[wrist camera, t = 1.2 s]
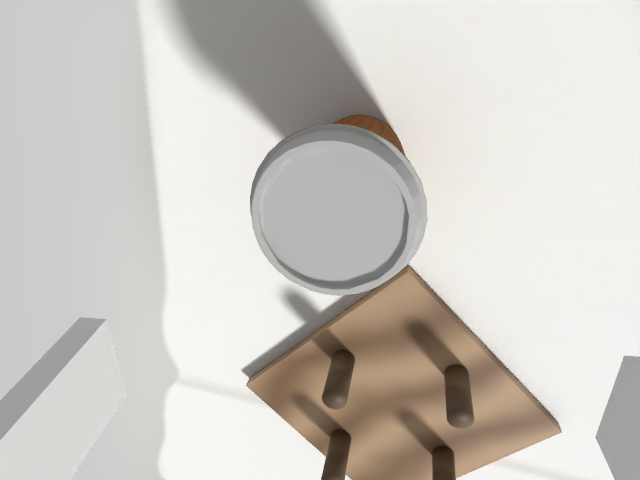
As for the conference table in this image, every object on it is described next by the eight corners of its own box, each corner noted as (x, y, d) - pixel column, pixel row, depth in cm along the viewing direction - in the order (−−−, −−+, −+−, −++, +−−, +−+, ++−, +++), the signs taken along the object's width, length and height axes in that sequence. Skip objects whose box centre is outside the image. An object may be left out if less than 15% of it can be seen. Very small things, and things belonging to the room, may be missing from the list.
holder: (558, 423, 41) (578, 483, 36) (385, 500, 50) (381, 558, 45) (408, 265, 38) (405, 307, 32) (249, 378, 46) (226, 425, 41)
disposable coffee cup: (455, 157, 33) (469, 226, 23) (362, 241, 38) (337, 332, 27) (356, 60, 32) (323, 85, 21) (271, 159, 36) (208, 221, 26)
